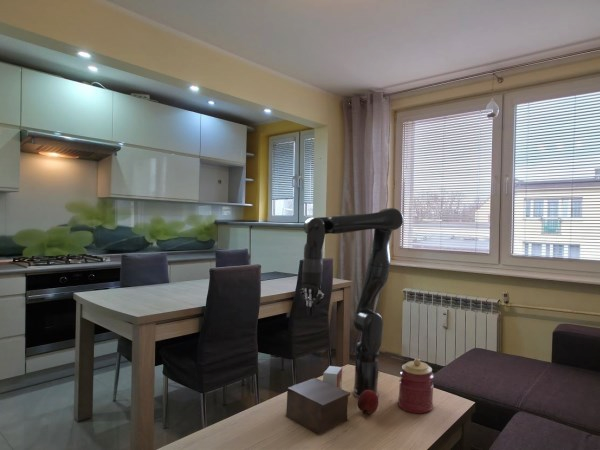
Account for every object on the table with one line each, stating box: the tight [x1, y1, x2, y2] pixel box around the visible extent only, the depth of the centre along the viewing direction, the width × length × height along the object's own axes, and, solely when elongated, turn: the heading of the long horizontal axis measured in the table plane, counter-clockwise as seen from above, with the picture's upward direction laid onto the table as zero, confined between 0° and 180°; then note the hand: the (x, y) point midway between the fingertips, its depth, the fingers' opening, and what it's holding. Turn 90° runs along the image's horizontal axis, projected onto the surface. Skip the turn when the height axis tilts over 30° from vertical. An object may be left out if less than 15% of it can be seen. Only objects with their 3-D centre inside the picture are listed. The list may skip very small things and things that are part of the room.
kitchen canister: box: [397, 358, 435, 414], centre depth 143 cm, size 13×13×18 cm
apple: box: [356, 390, 379, 415], centre depth 136 cm, size 7×8×8 cm
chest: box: [285, 390, 349, 435], centre depth 130 cm, size 17×13×9 cm
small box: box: [322, 365, 343, 389], centre depth 147 cm, size 8×6×10 cm
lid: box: [287, 377, 351, 407], centre depth 130 cm, size 18×13×1 cm
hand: (310, 316), depth 143 cm, fingers closed
